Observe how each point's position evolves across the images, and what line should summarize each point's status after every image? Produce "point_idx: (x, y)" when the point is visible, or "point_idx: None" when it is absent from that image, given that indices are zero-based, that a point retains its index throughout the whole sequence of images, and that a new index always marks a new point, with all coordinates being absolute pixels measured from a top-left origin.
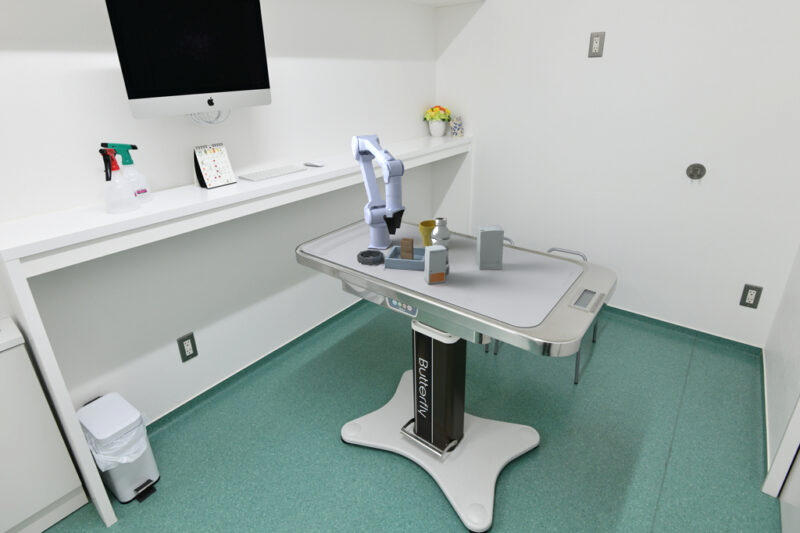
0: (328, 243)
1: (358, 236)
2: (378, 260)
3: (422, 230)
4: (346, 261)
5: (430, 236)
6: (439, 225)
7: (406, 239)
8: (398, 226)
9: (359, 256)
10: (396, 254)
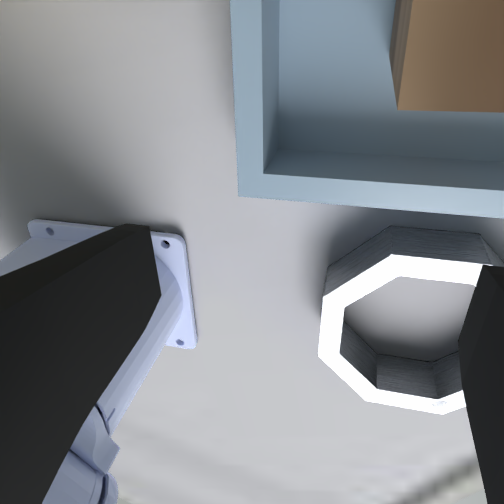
0: (186, 487)
1: None
2: (499, 265)
3: None
4: (434, 425)
5: None
6: None
7: (492, 16)
8: (135, 259)
9: None
10: (294, 140)
